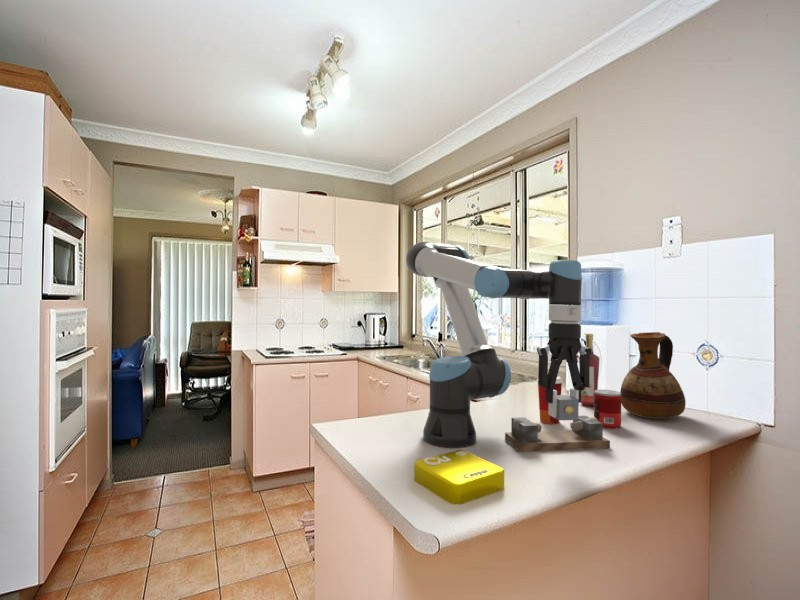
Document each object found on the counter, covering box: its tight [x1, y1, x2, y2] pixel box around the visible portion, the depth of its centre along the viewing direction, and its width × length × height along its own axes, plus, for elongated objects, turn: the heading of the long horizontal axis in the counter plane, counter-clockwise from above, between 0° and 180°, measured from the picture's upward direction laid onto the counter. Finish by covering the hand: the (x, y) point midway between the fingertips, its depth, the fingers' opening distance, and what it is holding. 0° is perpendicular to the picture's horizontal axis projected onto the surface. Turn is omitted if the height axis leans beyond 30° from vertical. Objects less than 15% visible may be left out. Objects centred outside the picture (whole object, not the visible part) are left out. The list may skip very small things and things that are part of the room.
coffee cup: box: [535, 375, 564, 425], centre depth 138 cm, size 8×8×15 cm
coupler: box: [555, 394, 580, 421], centre depth 103 cm, size 7×5×5 cm
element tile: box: [413, 449, 505, 505], centre depth 90 cm, size 15×15×5 cm
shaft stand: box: [504, 415, 611, 453], centre depth 116 cm, size 26×10×7 cm, turn 98°
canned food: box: [593, 389, 622, 430], centre depth 135 cm, size 8×8×11 cm
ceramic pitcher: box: [619, 331, 687, 419], centre depth 148 cm, size 20×20×30 cm
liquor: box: [578, 333, 600, 408], centre depth 162 cm, size 7×7×28 cm
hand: (563, 415), depth 103 cm, fingers closed on coupler, 5 cm apart
